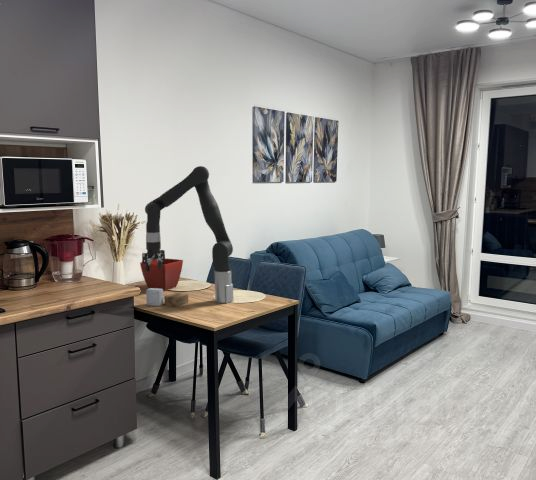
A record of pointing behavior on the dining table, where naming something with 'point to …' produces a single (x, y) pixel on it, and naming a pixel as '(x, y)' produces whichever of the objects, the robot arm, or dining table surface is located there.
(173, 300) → the walnut block
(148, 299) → the medicine box
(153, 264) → the plant pot
